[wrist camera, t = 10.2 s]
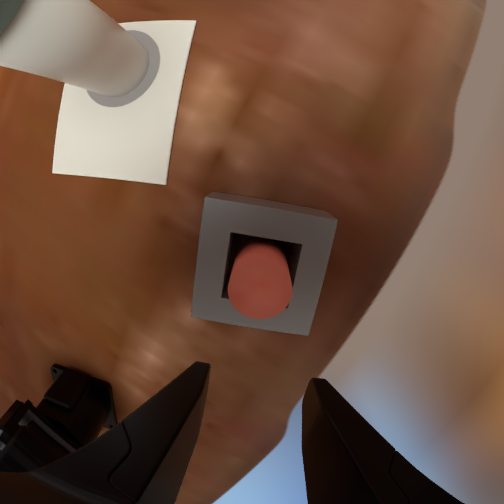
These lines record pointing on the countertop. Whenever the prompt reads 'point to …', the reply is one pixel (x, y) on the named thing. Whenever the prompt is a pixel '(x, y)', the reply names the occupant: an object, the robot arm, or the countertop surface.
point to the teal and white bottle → (71, 45)
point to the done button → (260, 280)
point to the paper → (128, 114)
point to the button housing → (267, 226)
